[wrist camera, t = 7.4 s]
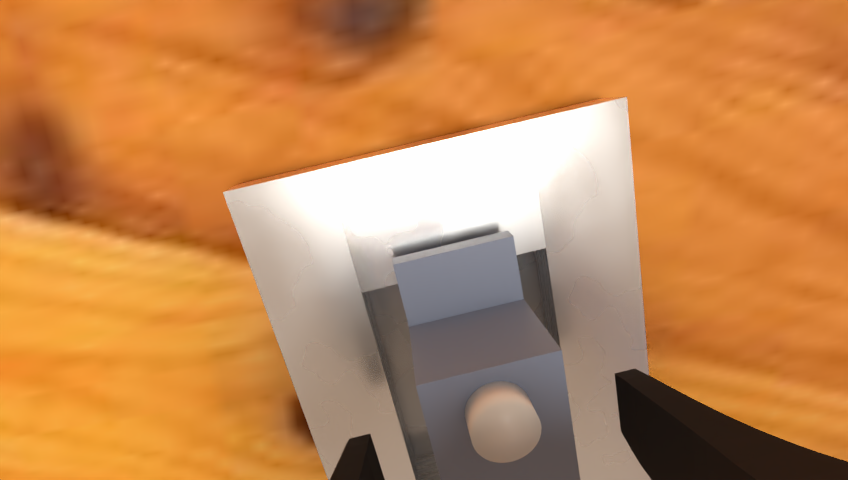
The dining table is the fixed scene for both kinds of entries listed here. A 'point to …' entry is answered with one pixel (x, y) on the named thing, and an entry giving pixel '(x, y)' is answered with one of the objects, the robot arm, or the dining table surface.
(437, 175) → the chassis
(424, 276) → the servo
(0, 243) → the dining table surface
